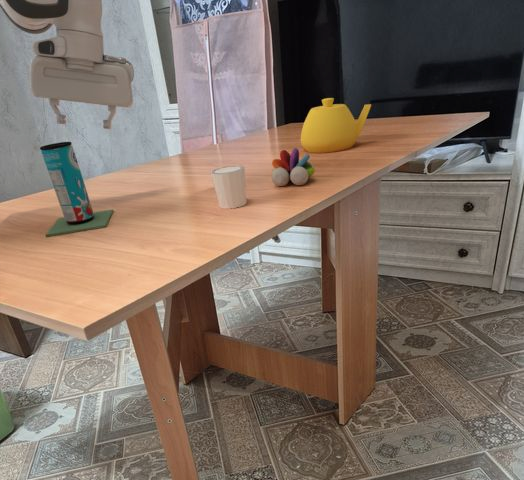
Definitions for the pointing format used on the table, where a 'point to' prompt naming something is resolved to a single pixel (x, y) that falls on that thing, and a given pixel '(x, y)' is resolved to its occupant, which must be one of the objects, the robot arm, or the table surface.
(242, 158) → the table surface
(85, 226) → the mat
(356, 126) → the teapot
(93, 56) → the robot arm
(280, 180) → the rainbow petal toy
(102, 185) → the table surface
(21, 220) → the table surface
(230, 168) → the white cup
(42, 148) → the beverage can
